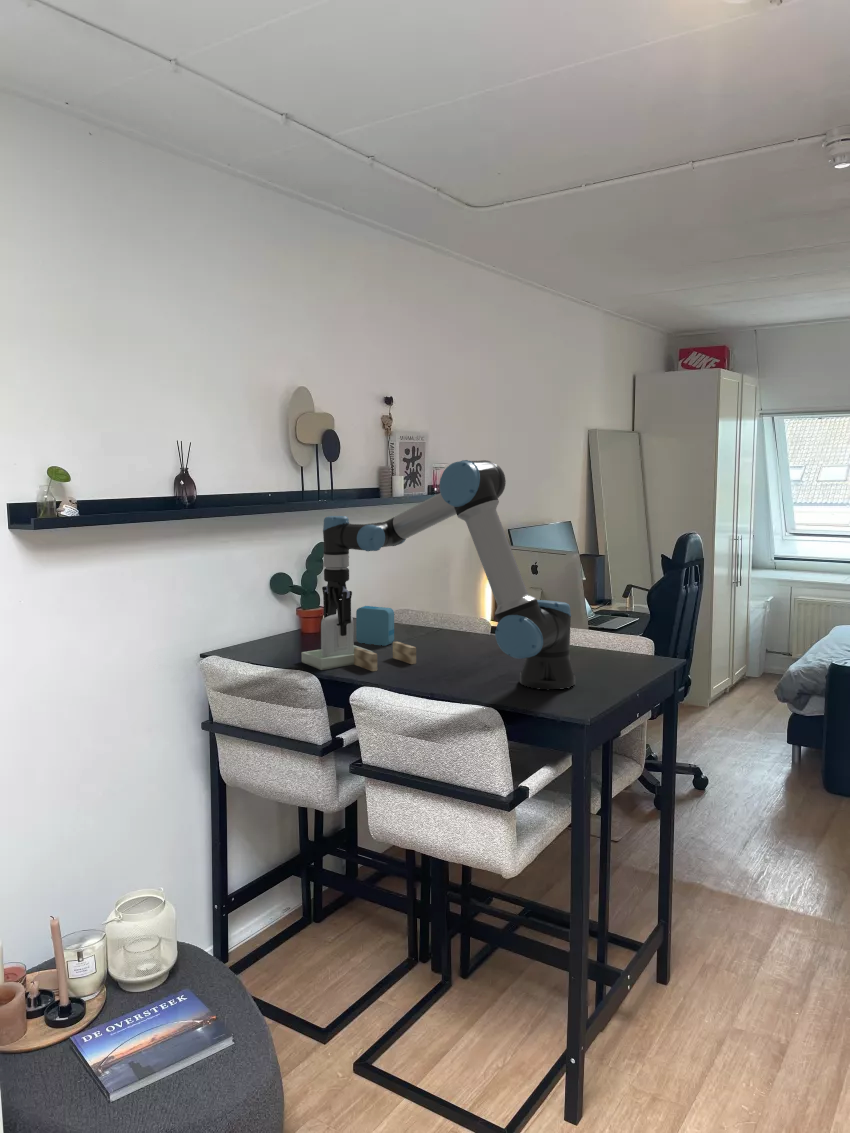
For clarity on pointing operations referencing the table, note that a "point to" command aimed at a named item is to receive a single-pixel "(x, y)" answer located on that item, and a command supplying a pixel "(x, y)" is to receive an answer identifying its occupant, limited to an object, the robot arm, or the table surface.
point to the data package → (375, 625)
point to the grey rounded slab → (335, 637)
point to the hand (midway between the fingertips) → (337, 644)
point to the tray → (327, 659)
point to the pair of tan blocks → (370, 658)
